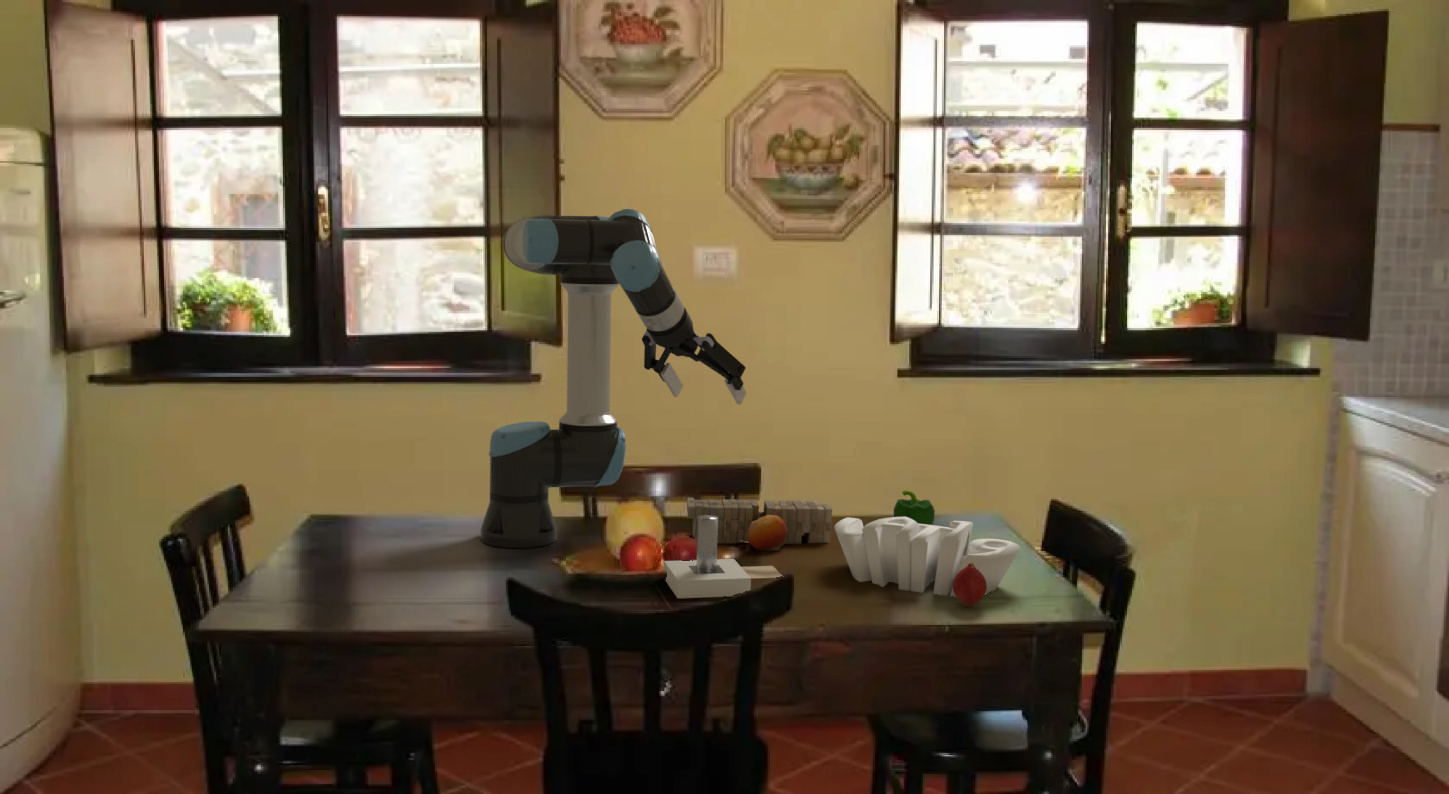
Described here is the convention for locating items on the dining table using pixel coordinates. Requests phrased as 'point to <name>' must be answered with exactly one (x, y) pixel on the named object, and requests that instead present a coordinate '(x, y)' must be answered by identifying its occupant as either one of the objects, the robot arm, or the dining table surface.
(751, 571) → the coaster
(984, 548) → the white wavy slab sculpture
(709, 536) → the pin
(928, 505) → the bell pepper
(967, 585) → the onion
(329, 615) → the dining table surface
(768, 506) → the block tower
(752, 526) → the fruit
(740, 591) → the slot block
